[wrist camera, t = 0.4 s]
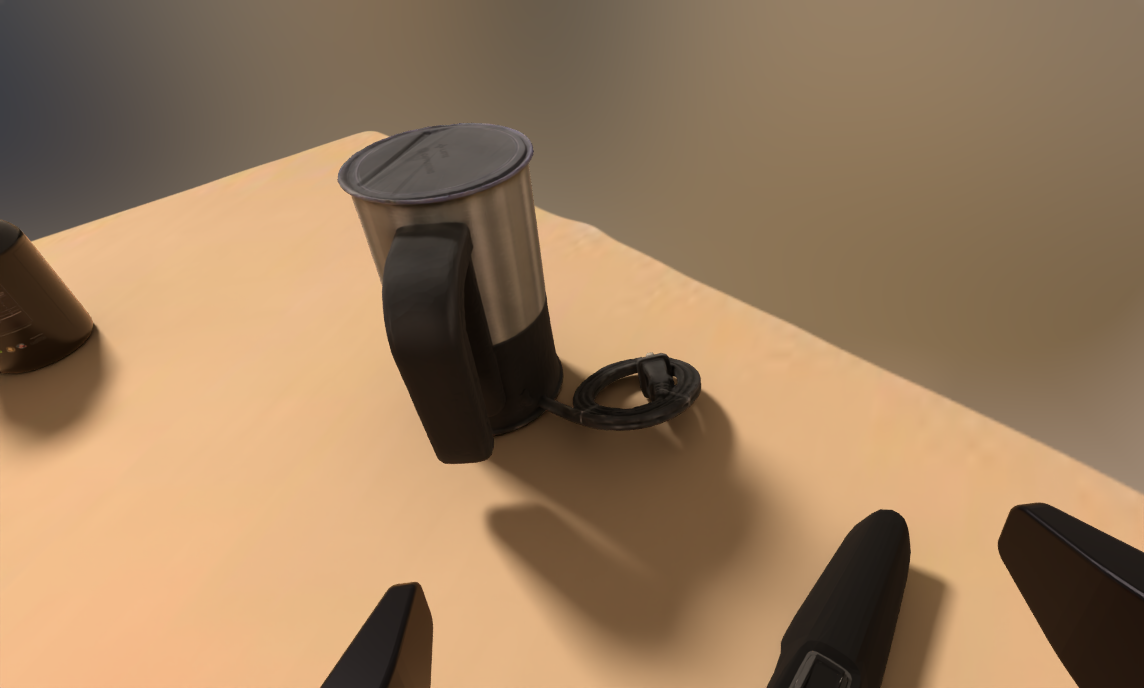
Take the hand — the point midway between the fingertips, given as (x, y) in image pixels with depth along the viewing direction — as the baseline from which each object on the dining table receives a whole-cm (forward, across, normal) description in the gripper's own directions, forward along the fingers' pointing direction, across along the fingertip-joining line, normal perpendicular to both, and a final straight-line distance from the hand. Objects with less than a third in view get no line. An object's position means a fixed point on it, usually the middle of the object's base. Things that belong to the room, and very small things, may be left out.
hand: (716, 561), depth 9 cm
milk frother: (+24, +3, +13) cm, 27 cm away
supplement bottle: (+35, +40, +11) cm, 55 cm away
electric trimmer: (+6, -6, +16) cm, 18 cm away
